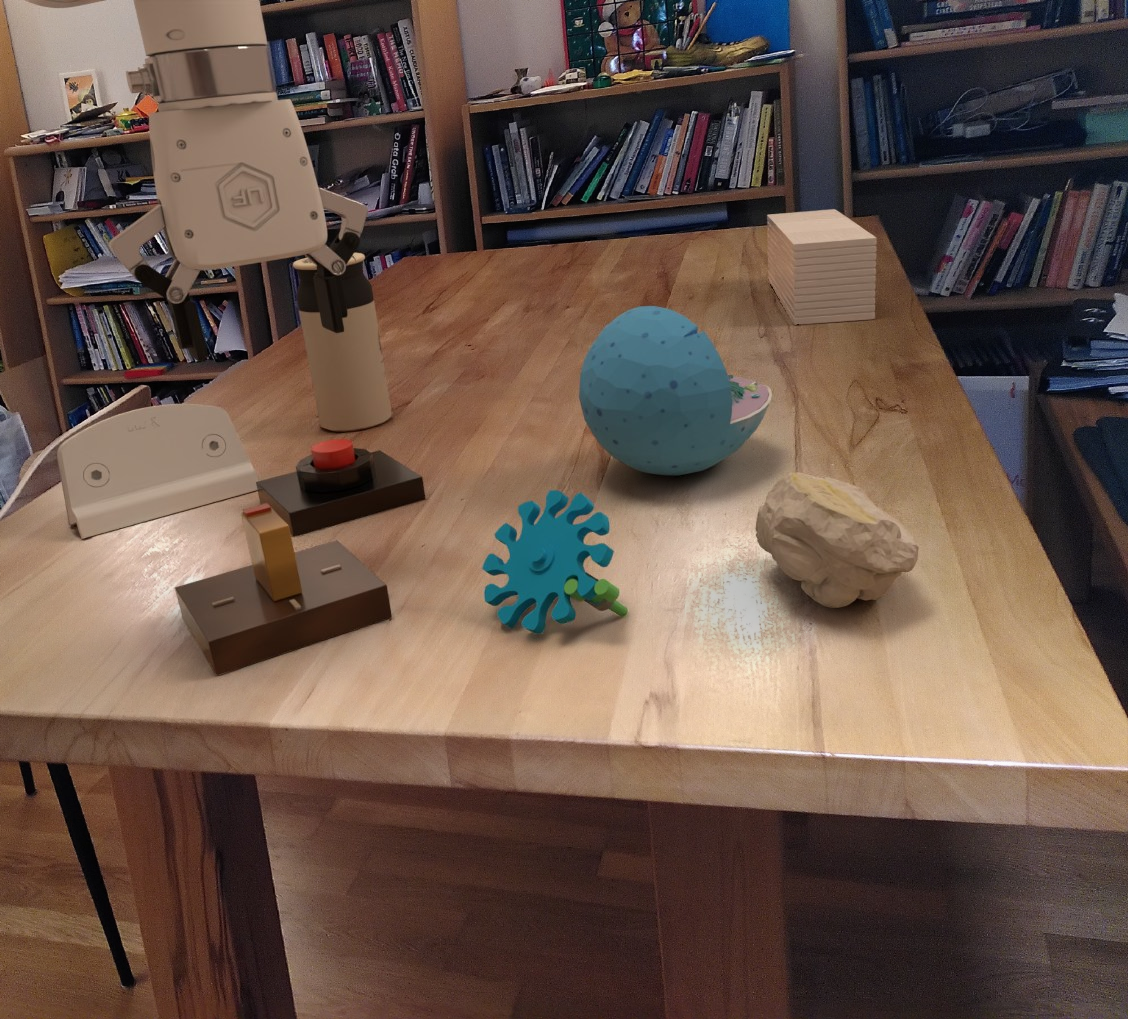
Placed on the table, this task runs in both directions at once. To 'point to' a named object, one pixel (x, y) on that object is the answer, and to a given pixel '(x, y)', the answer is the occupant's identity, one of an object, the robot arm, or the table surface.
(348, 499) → the alarm box
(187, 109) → the robot arm
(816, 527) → the beige rock
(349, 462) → the button
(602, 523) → the gear
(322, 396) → the travel mug
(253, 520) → the yellow block
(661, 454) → the educational model
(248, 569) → the plate
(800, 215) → the grooved wooden block
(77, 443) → the hinge
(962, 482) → the table surface
